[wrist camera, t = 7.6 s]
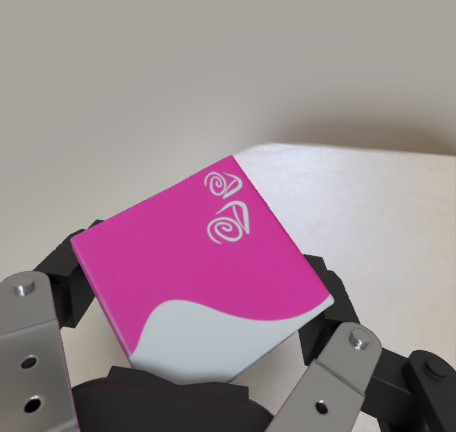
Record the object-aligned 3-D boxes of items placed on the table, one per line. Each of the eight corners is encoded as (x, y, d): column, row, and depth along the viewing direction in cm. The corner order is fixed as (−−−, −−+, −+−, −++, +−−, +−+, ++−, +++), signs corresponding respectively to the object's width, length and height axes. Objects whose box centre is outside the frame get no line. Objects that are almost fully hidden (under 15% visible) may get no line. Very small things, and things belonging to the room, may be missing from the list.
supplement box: (265, 309, 19) (345, 307, 8) (184, 364, 18) (153, 449, 7) (217, 233, 20) (232, 147, 10) (139, 281, 19) (52, 242, 8)
